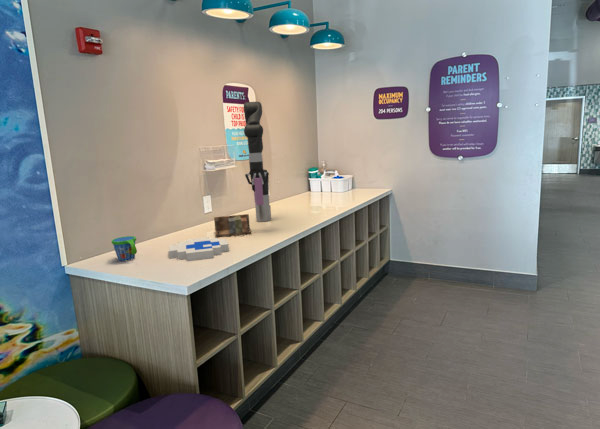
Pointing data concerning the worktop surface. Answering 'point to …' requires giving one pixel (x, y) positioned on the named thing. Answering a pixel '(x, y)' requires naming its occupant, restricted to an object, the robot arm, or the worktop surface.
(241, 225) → the camouflage pattern block
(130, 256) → the snack cup
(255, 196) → the plum book
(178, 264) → the worktop surface
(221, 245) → the pixel art tile
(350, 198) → the worktop surface
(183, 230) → the worktop surface
